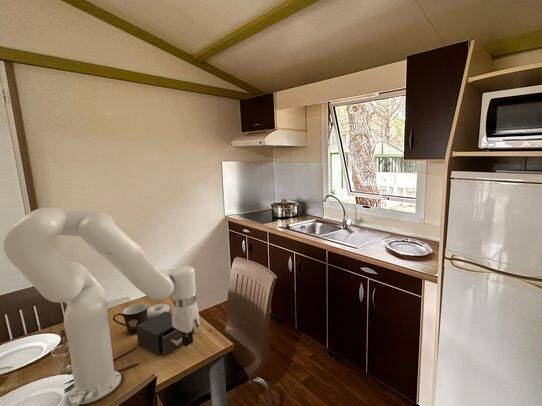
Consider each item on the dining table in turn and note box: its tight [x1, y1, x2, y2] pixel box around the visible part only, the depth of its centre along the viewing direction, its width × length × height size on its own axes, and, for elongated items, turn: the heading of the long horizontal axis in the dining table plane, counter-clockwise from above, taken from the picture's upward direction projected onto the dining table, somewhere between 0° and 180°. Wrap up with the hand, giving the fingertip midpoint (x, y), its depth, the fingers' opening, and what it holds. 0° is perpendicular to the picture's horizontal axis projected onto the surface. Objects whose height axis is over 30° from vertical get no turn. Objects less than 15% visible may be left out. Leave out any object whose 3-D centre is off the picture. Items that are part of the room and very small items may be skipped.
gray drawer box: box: [136, 311, 174, 356], centre depth 111 cm, size 14×12×9 cm
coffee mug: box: [112, 303, 148, 336], centre depth 118 cm, size 12×9×10 cm
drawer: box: [160, 328, 183, 355], centre depth 109 cm, size 17×10×7 cm, turn 65°
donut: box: [147, 303, 170, 320], centre depth 131 cm, size 10×4×10 cm
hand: (187, 344), depth 105 cm, fingers closed
